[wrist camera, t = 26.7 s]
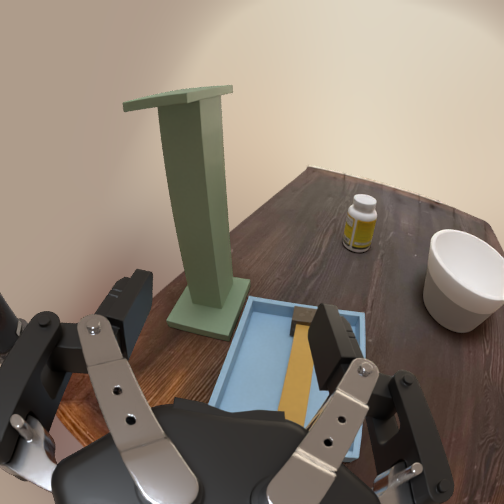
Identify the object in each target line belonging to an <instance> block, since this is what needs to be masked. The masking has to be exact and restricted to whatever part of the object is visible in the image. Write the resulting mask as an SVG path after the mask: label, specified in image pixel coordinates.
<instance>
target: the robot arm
mask: <svg viewBox="0 0 504 504" xmlns="http://www.w3.org/2000/svg"><path fill="white" fill-rule="evenodd" d="M152 287H153V273H152V272H150V271H145V270H140V269H136V270H135V272H134V273H133V275H132V276H131V278H128V277H124V278H122V279H120V280H119V281H117V282H116V283H115V285H114V286H113V288H112V290H110V292H109V294H108V295H107V296H106V298H105V299H104V301H103V302H102V303H101V305H100V306H99V308H98V309H97V311H96V312H95V314H92V315H87V316H85V317H83V318H82V319H81V320H80V321H79V322H78V323H76V324H75V323H60V320H59V317H58V316H57V315H56V314H55V313H53V312H50V311H44V312H40V313H38V314H36V315H35V316H34V317H33V318H32V319H31V321H30V322H29V323H28V325H27V326H26V328H24V326H23V325H22V323H21V322H20V321H19V320H18V318H17V317H16V316H15V314H14V313H13V311H12V310H11V309H10V307H9V306H8V304H7V303H6V301H5V300H4V298H3V296H2V295H1V293H0V356H1V357H4V358H5V360H4V362H3V363H2V365H1V367H0V468H2V469H3V470H4V471H6V472H7V473H9V474H11V475H13V476H15V477H17V478H18V479H20V480H22V481H29V482H32V483H33V484H35V485H37V486H39V487H40V488H43V489H44V490H46V491H49V492H51V493H52V494H53V497H54V501H55V504H441V503H443V502H445V501H447V500H448V499H449V498H450V497H451V496H452V494H453V491H454V482H453V478H452V474H451V471H450V467H449V464H448V461H447V457H446V454H445V451H444V448H443V445H442V442H441V439H440V436H439V433H438V430H437V428H436V425H435V422H434V420H433V417H432V414H431V412H430V409H429V406H428V404H427V401H426V399H425V397H424V394H423V392H422V389H421V387H420V385H419V382H418V380H417V378H416V377H415V376H414V375H413V374H412V373H410V372H409V371H406V370H399V371H397V372H396V373H395V374H394V376H393V377H392V376H388V375H385V374H381V373H379V370H378V368H377V367H376V365H375V364H374V363H373V362H371V361H370V360H368V359H365V358H364V356H363V354H362V351H361V349H360V346H359V344H358V342H357V339H355V338H356V337H355V334H354V333H353V330H352V327H351V325H350V323H349V322H348V321H347V320H346V319H345V318H344V316H340V314H339V311H338V309H337V307H336V306H335V305H330V304H323V303H321V304H320V305H319V306H318V308H317V311H316V313H315V315H314V317H313V320H312V322H311V324H310V326H309V329H308V342H309V346H310V350H311V355H312V359H313V364H314V368H315V373H316V377H317V382H318V387H319V391H328V392H329V395H328V397H327V398H326V399H325V401H324V402H323V404H322V405H321V407H320V408H319V410H318V411H317V413H316V414H315V416H314V417H313V419H312V420H311V421H310V423H309V424H308V425H307V427H306V428H304V427H302V426H301V425H299V424H297V423H295V422H293V421H290V420H288V419H285V412H284V411H270V410H251V411H242V412H227V411H224V410H221V409H219V408H216V407H213V406H211V405H208V404H205V403H203V402H198V401H192V400H187V399H182V398H177V397H175V399H174V403H173V404H166V405H159V406H155V407H152V408H150V406H149V404H148V402H147V400H146V398H145V396H144V394H143V392H142V390H141V388H140V386H139V384H138V382H137V380H136V378H135V376H134V374H133V372H132V369H131V367H130V365H129V363H128V361H127V360H129V358H130V355H131V353H132V351H133V348H134V346H135V343H136V341H137V339H138V337H139V334H140V332H141V330H142V327H143V325H144V323H145V321H146V318H147V316H148V314H149V312H150V309H151V305H152V290H153V289H152ZM72 373H87V374H89V377H90V380H91V383H92V386H93V389H94V392H95V395H96V398H97V401H98V403H99V406H100V409H101V411H102V414H103V417H104V419H105V422H106V424H107V426H108V429H109V431H110V433H108V434H106V435H105V436H103V437H101V438H100V439H98V440H96V441H94V442H93V443H91V444H89V445H88V446H86V447H84V448H82V449H81V450H79V451H77V452H75V453H74V454H72V455H70V456H68V457H66V458H65V459H63V460H61V461H60V462H59V463H58V464H57V462H56V459H55V442H54V440H53V438H52V437H51V435H50V434H49V431H50V428H51V425H52V422H53V419H54V417H55V414H56V411H57V409H58V406H59V404H60V401H61V399H62V396H63V394H64V391H65V389H66V386H67V384H68V382H69V379H70V377H71V375H72ZM396 412H397V414H398V417H399V420H400V429H398V426H397V422H396V419H395V416H394V414H395V413H396ZM364 418H366V422H367V426H368V431H369V435H370V440H371V445H372V450H373V455H374V460H375V465H376V470H377V477H376V479H375V480H374V484H373V488H372V489H371V488H369V487H368V486H367V485H366V484H365V483H364V482H362V481H361V480H360V479H359V478H358V477H357V476H356V475H354V474H353V473H352V472H351V471H350V470H349V469H348V468H347V467H346V466H344V465H343V464H342V461H343V459H344V458H345V456H346V454H347V452H348V450H349V449H350V447H351V445H352V443H353V441H354V439H355V437H356V435H357V433H358V431H359V429H360V427H361V425H362V423H363V421H364Z"/></svg>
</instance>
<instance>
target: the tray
mask: <svg viewBox="0 0 504 504" xmlns="http://www.w3.org/2000/svg"><path fill="white" fill-rule="evenodd" d="M294 306H299V307H306V308H313V309H317V308H318V307H315V306H308V305H302V304H295V303H289V302H282V301H276V300H270V299H264V298H258V297H252V296H249V298H248V300H247V303H246V306H245V308H244V311H243V314H242V317H241V319H240V322H239V325H238V327H237V330H236V333H235V335H234V338H233V341H232V343H231V346H230V349H229V351H228V354H227V356H226V359H225V362H224V364H223V367H222V370H221V372H220V375H219V377H218V380H217V383H216V385H215V388H214V390H213V393H212V396H211V398H210V401H209V403H208V405H211V406H213V407H216V408H219V409H221V410H224V411H227V412H242V411H251V410H270V411H277V410H278V406H279V402H280V398H281V394H282V389H283V385H284V381H285V376H286V372H287V367H288V362H289V358H290V353H291V348H292V343H293V338H294V336H290V335H289V334H290V328H291V321H292V316H293V311H294ZM338 311H339V314H340V316H344V318H345V319H346V320H347V321H348V322H349V323H350V325H351V327H352V330H353V333H354V334H355V337H356V338H355V339H357V342H358V344H359V346H360V349H361V351H362V354H363V356H364V358H365V313H361V312H360V313H359V312H353V311H345V310H338ZM328 395H329V392H328V391H319V387H318V382H317V377H316V373H315V368H314V365H313V372H312V380H311V386H310V393H309V400H308V406H307V412H306V418H305V423H304V428H306V427H307V425H308V424H309V423H310V421H311V420H312V419H313V417H314V416H315V414H316V413H317V411H318V410H319V408H320V407H321V405H322V404H323V402H324V401H325V399H326V398H327V397H328ZM361 434H362V425H361V427H360V429H359V431H358V433H357V435H356V437H355V439H354V441H353V443H352V445H351V447H350V449H349V450H348V452H347V454H346V456H345V458H344V459H343V461H342V462H352V461H354V460H355V459H357V458H359V452H360V443H361Z"/></svg>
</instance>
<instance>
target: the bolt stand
mask: <svg viewBox="0 0 504 504" xmlns="http://www.w3.org/2000/svg"><path fill="white" fill-rule="evenodd" d="M228 93H233V86H232V85H227V86H211V87H199V88H189V89H181V90H175V91H170V92H165V93H160V94H155V95H151V96H147V97H143V98H138V99H135V100H131V101H127V102H123V110H124V112H128V111H133V110H140V109H146V108H153V107H158V115H159V124H160V133H161V141H162V149H163V156H164V163H165V169H166V176H167V182H168V189H169V195H170V200H171V206H172V212H173V217H174V222H175V227H176V233H177V237H178V242H179V247H180V252H181V256H182V261H183V266H184V270H185V275H186V279H187V283H188V285H187V287H186V288H185V290H184V292H183V293H182V295H181V297H180V298H179V300H178V302H177V303H176V305H175V307H174V308H173V310H172V312H171V313H170V315H169V317H168V318H167V320H166V321H167V324H168V326H169V327H173V328H177V329H180V330H184V331H188V332H192V333H196V334H199V335H204V336H208V337H212V338H216V339H220V340H225V341H230V338H231V336H232V333H233V331H234V328H235V325H236V323H237V320H238V318H239V315H240V312H241V310H242V307H243V304H244V302H245V299H246V297H247V294H248V291H249V289H250V280H249V279H242V278H236V277H233V272H232V260H231V248H230V235H229V222H228V208H227V194H226V179H225V163H224V147H223V129H222V111H221V95H224V94H228Z"/></svg>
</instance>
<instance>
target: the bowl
mask: <svg viewBox="0 0 504 504" xmlns="http://www.w3.org/2000/svg"><path fill="white" fill-rule="evenodd" d="M423 300H424V304H425V306H426V308H427V310H428V312H429V313H430V315H431V316H432V317H433V318H434V319H435V320H436V321H437V322H438V323H439V324H440V325H442V326H444V327H445V328H447V329H449V330H451V331H454V332H459V333H465V332H469V331H472V330H473V329H475V328H476V327H477V326H478V325H480V324H481V323H482V322H483V321H484V320H486V319H487V318H488V317H489V316H490V315H492V314H493V313H494V312H495V311H496V310H498V309H499V308H500V307H501V306H502V305H503V304H504V258H503V257H502V256H501V255H500V254H499V253H498V252H497V251H496V250H495V249H493V248H492V247H491V246H490V245H488V244H487V243H486V242H484V241H482V240H481V239H479V238H477V237H475V236H473V235H471V234H468V233H465V232H462V231H458V230H450V229H449V230H441V231H438V232H437V233H435V234H434V235H433V237H432V238H431V243H430V251H429V259H428V267H427V273H426V279H425V285H424V290H423Z"/></svg>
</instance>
